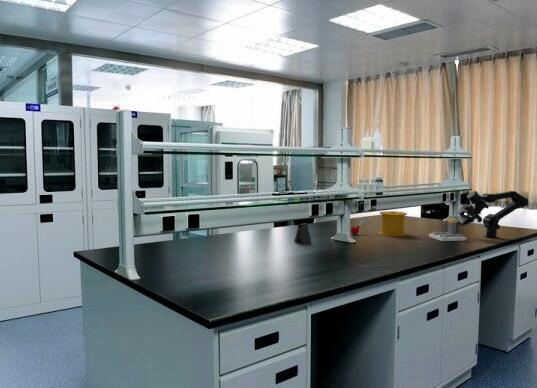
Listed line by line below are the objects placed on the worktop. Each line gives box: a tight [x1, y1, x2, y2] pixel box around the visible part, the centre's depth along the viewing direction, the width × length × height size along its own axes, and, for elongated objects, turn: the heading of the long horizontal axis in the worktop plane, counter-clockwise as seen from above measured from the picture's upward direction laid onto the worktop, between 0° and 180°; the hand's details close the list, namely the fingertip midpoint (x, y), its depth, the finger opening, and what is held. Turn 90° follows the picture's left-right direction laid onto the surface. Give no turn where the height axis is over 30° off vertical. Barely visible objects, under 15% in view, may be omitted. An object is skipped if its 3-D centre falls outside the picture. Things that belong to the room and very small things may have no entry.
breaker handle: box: [445, 218, 458, 234], centre depth 286 cm, size 4×6×10 cm, turn 9°
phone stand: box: [293, 222, 312, 245], centre depth 268 cm, size 9×6×12 cm, turn 43°
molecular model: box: [349, 219, 367, 235], centre depth 298 cm, size 18×6×10 cm, turn 126°
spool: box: [378, 210, 408, 237], centre depth 301 cm, size 18×18×15 cm
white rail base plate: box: [428, 231, 468, 242], centre depth 286 cm, size 17×16×4 cm
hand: (461, 225), depth 287 cm, fingers closed
